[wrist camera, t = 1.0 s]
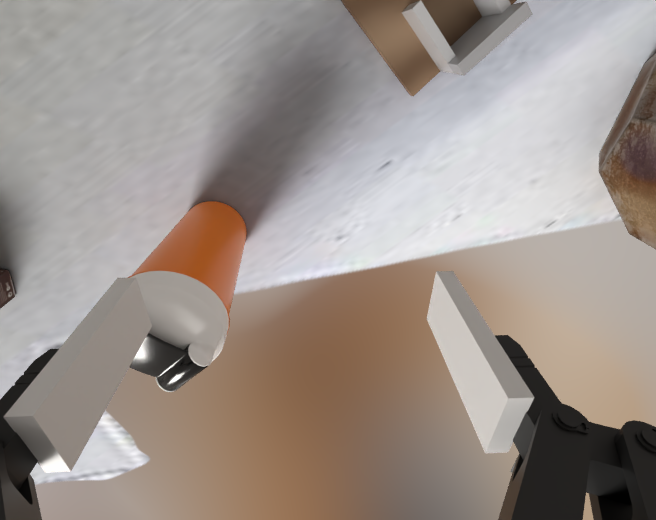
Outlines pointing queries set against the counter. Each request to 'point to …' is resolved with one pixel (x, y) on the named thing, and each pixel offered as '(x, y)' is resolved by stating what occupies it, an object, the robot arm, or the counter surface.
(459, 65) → the socket
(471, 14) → the board
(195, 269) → the shaker bottle
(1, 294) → the box
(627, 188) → the planter
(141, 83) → the counter surface
